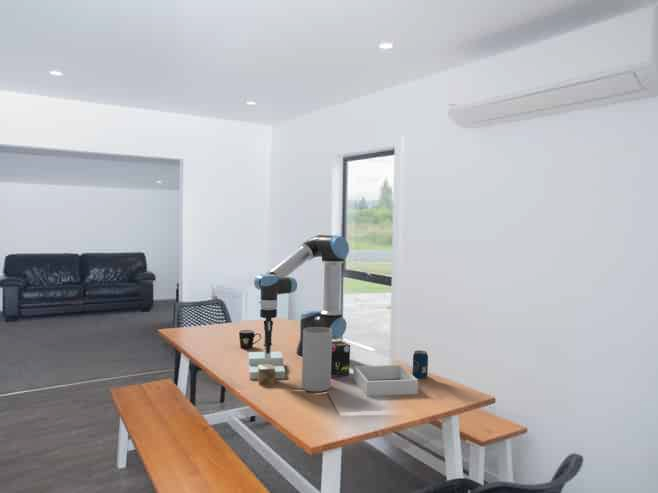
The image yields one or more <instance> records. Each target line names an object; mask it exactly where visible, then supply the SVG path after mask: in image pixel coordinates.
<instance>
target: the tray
mask: <svg viewBox="0 0 658 493" xmlns="http://www.w3.org/2000/svg"><path fill="white" fill-rule="evenodd" d="M352 375H353V377H352V379H353V381H354V382H355V383H356V385H357V386H358V387H359V388H360V390H361V391H362V392H363V394H364V395H365V396H366V397H378V396H379V397H380V396H381V397H382V396H383V397H384V396H402V395H403V396H405V395H406V396H407V395H418V394H419V379H417V378H415V377H414V376H413V373H411V372H409V371H408V370H407V369H406V368H405V367H404V366H402V365H401V364H391V365H389V364H388V365H360V366H359V365H354V366H353V374H352ZM392 379H393V380H392Z"/></svg>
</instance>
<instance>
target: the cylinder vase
mask: <svg viewBox="0 0 658 493" xmlns="http://www.w3.org/2000/svg"><path fill="white" fill-rule="evenodd" d="M332 342H333V339H332V329H329V328H324V327H309V328H305V329H303V356H302V355H301V356H302V357H301V358H302V362H301V363H302V365H301V369H302V370H301V388H302V389H303V390H305V391H308V392H315V393H317V392H318V393H319V392H326V391H328V390H330V388H331V387H332V386H331V385H332V378H331V357H332Z"/></svg>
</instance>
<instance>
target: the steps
mask: <svg viewBox="0 0 658 493" xmlns="http://www.w3.org/2000/svg"><path fill="white" fill-rule="evenodd" d="M264 357H265V351H249V352H248V360H247V361H248V364H247V365H248V374H249V375H248V376H249V380H258V364H274V366H275V380H276V379H277V380H278V379H286V370H285V366H284V357H283V354H282V351H271V360H264Z"/></svg>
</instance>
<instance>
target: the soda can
mask: <svg viewBox="0 0 658 493" xmlns="http://www.w3.org/2000/svg"><path fill="white" fill-rule="evenodd" d="M428 367H429V355H428V352H427V351H425V350H415V351H414V353H413V355H412V375H413V376H414V377H415V378H416V379H418V380H426V378H427V377H428V371H429V369H428Z"/></svg>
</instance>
